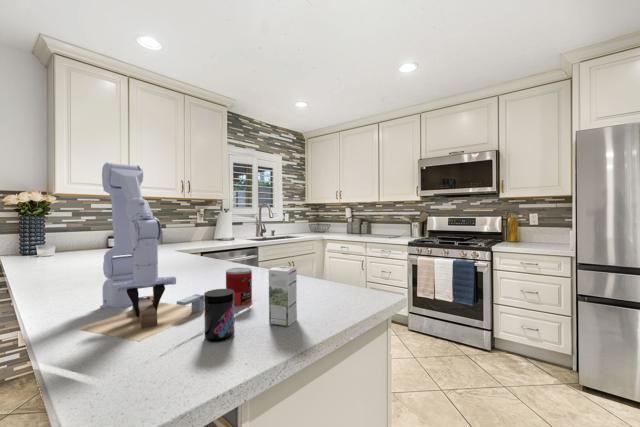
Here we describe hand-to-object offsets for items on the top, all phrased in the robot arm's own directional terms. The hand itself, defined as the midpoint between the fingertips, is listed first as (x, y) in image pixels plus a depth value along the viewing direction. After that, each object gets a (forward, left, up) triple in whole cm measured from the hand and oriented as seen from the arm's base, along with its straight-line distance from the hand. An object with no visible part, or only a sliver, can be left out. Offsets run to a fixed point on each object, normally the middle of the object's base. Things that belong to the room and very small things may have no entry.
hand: (146, 314), depth 81 cm
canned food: (+15, +20, -2) cm, 25 cm away
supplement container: (+25, -2, -2) cm, 26 cm away
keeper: (+9, +6, -1) cm, 11 cm away
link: (-1, +1, -1) cm, 2 cm away
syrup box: (+35, +11, -2) cm, 37 cm away
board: (+1, 0, -2) cm, 2 cm away
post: (-7, +5, -2) cm, 8 cm away
